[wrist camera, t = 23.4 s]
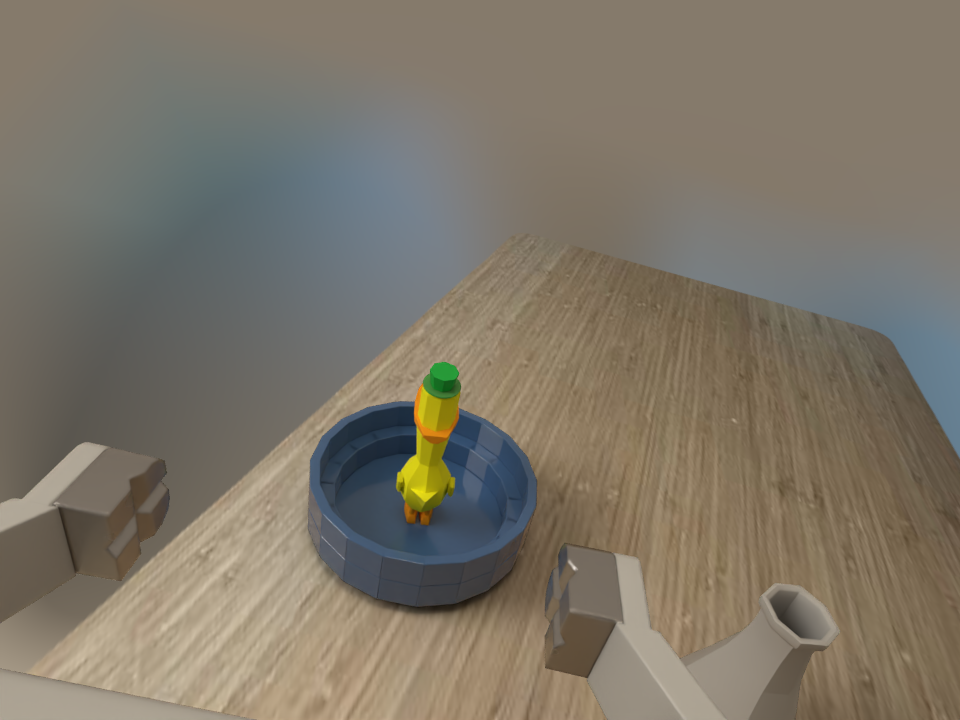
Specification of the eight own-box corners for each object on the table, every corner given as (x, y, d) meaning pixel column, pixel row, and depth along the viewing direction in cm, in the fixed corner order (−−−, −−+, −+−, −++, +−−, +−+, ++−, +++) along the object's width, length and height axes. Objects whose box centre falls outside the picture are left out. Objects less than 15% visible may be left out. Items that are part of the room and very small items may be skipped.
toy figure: (395, 472, 42) (416, 326, 36) (445, 477, 43) (475, 334, 37) (387, 549, 37) (411, 392, 30) (445, 554, 37) (480, 400, 31)
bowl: (272, 587, 34) (272, 533, 32) (344, 432, 46) (347, 384, 44) (516, 636, 34) (534, 587, 32) (525, 469, 46) (538, 424, 44)
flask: (622, 677, 33) (687, 560, 28) (723, 648, 36) (799, 537, 31) (702, 827, 28) (802, 715, 23) (814, 779, 31) (926, 670, 25)
